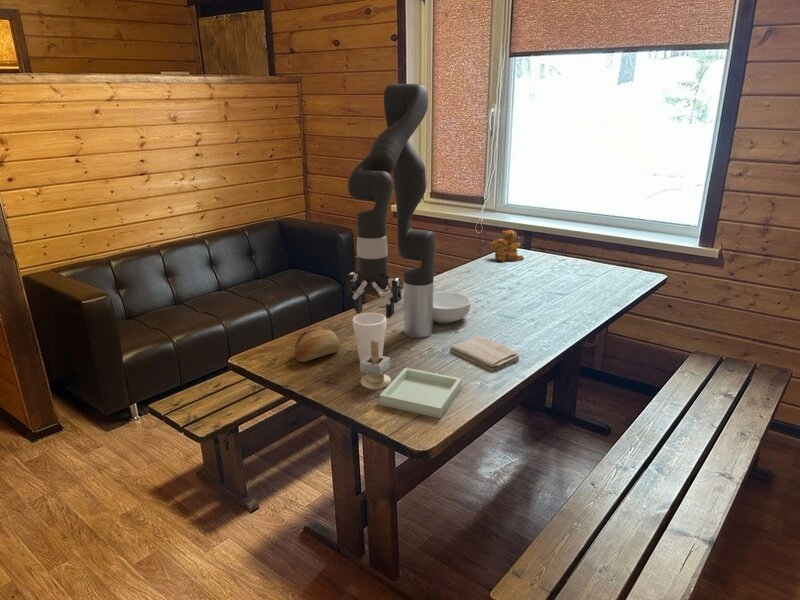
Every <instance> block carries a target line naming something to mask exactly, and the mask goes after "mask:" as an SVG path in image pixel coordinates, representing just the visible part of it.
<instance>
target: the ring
mask: <svg viewBox="0 0 800 600" xmlns="http://www.w3.org/2000/svg"><path fill="white" fill-rule="evenodd" d="M391 364H392V363H391V357H390V356H384V355H382V356H380V355H379V364H375V363H372V362H371V354H369V355H368V356H367V357H366V358H365V359H364V360H363V361H361V362H360V361H359V371H360V372H362V373H366V374H367V373H370V374H375V375H379V376H381V375H382V374H383V373H384V374H385V372H386V371H387V370H388V369H389V368H390V367H391Z"/></svg>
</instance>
